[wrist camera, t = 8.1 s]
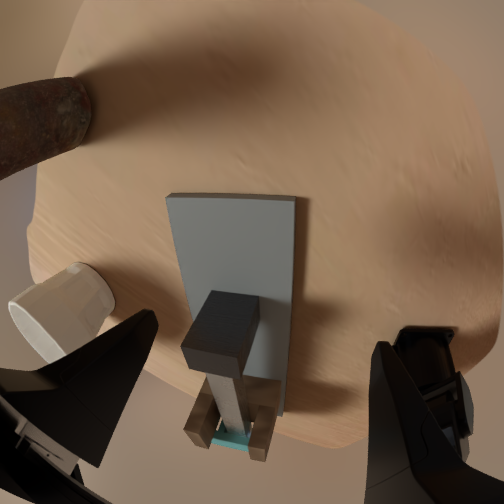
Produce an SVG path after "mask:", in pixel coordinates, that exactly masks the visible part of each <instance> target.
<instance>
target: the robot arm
mask: <svg viewBox="0 0 504 504" xmlns="http://www.w3.org/2000/svg"><path fill="white" fill-rule="evenodd" d="M158 327H159V325H158V321H157V318H156V316H155V313H154V311H153V310H149V309H143V310H141V311H139V312H138V313H136V314H134V315H133V316H131V317H129V318H128V319H126V320H124V321H123V322H121V323H119V324H118V325H116V326H114V327H113V328H111V329H109V330H108V331H106V332H105V333H103V334H101V335H100V336H98V337H96V338H95V339H93V340H91V341H90V342H88V343H86V344H85V345H83V346H82V347H80V348H78V349H76V350H75V351H73V352H71V353H69V354H68V355H66V356H64V357H62V358H60V359H58V360H56V361H54V362H52V363H50V364H48V365H46V366H44V367H42V368H40V369H38V370H34V371H22V370H13V369H4V368H0V488H1V489H3V490H5V491H7V492H9V493H12V494H14V495H16V496H18V497H20V498H23V499H25V500H27V501H30V502H32V503H35V504H112V503H111V502H109V501H107V500H105V499H104V498H102V497H100V496H99V495H97V494H96V493H94V492H93V491H91V490H89V489H88V488H87V487H85V486H84V483H83V479H82V476H81V472H80V469H79V465H78V464H77V462H78V460H79V458H81V459H83V460H84V461H86V462H88V463H89V464H91V465H93V466H95V467H96V468H99V466H100V463H101V461H102V459H103V456H104V454H105V451H106V449H107V446H108V444H109V442H110V439H111V437H112V435H113V432H114V430H115V428H116V425H117V423H118V421H119V418H120V416H121V414H122V412H123V410H124V407H125V405H126V403H127V401H128V398H129V396H130V394H131V392H132V389H133V388H134V385H135V383H136V381H137V379H138V377H139V375H140V373H141V371H142V368H143V366H144V364H145V362H146V360H147V358H148V355H149V353H150V350H151V347H152V344H153V342H154V339H155V336H156V333H157V331H158ZM404 333H405V334H404ZM453 337H454V331H453V330H440V329H402V330H400V331H399V333H398V336H397V338H396V340H395V342H394V344H393V345H392V346H391V345H390V343H389V342H387V341H378V342H377V344H376V346H375V349H374V351H373V354H372V357H371V370H370V384H369V443H368V465H367V480H366V491H365V499H364V504H504V481H501V480H498V479H496V478H494V477H492V476H489V475H487V474H485V473H483V472H480V471H478V470H476V469H474V468H472V467H470V466H469V465H467V464H466V463H465V462H466V460H467V457H468V455H469V442H468V436H470V435H472V434H473V417H474V414H473V413H474V410H473V409H474V407H473V402H472V398H471V394H470V390H469V387H468V385H467V383H466V381H465V379H464V378H463V376H462V374H461V372H460V371H458V372H457V373H456V372H455V368H454V364H453V360H452V356H451V352H450V348H449V343H450V342H451V340H452V338H453Z"/></svg>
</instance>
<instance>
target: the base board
mask: <svg viewBox="0 0 504 504" xmlns="http://www.w3.org/2000/svg"><path fill="white" fill-rule="evenodd" d="M165 199H166V204H167V210H168V215H169V220H170V225H171V230H172V235H173V240H174V245H175V249H176V254H177V258H178V263H179V267H180V272H181V276H182V280H183V284H184V288H185V292H186V296H187V300H188V304H189V308H190V312H191V315H192V319H193V322H194V320H195V319H196V317H197V315H198V313H199V311H200V310H201V308H202V306H203V304H204V302H205V301H206V299H207V297H208V295H209V293H210V292H211V290H215V291H223V292H231V293H239V294H248V295H256V296H259V304H260V323H259V326H258V329H257V332H256V335H255V339H254V342H253V345H252V348H251V351H250V354H249V357H248V360H247V363H246V366H245V369H244V372H243V375H249V376H254V377H260V378H267V379H273V380H280V381H281V396H280V405H279V409H278V413H277V416H281V417H282V416H283V411H284V402H285V392H286V381H287V370H288V357H289V344H290V330H291V315H292V297H293V277H294V252H295V217H296V196H279V195H257V194H223V193H171V194H169V195H168V196H167V197H165Z"/></svg>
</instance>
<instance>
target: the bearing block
mask: <svg viewBox="0 0 504 504" xmlns="http://www.w3.org/2000/svg"><path fill="white" fill-rule="evenodd" d="M243 378H244V384H245V390H246V396H247V402H248V408H249V414H250V419H251V422H254V426H253V429H252V433H251V436H250V439H249V443H248V446H247V447H248V451H249V455H250V459H252V460H257V461H262V462H265V461H266V457H267V453H268V450H269V446H270V442H271V438H272V434H273V430H274V426H275V422H276V418H277V413H278V409H279V405H280V396H281V381H280V380H273V379H267V378H260V377H254V376H249V375H243ZM220 417H221V414H220V412H219V409H218V406H217V404H216V401H215V399H214V396H213V393H212V390H211V388H210V385H209V382H208V379H207V376H206V378H205V381H204V383H203V385H202V388H201V390H200V392H199V395H198V397H197V399H196V402H195V404H194V406H193V408H192V411H191V413H190V415H189V418H188V420H187V422H186V425H185V427H184V429H183V430H184V431H185V432H186V434H187V435H188V436H189V438H190V439H191V440H192V442H193V443H194V444H195V445H196V446H199V447H203V448H206V449H209V447H210V444H211V441H212V439H213V436H214V433H215V431H216V428H217V425H218V422H219V420H220Z"/></svg>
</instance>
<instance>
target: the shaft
mask: <svg viewBox="0 0 504 504" xmlns="http://www.w3.org/2000/svg"><path fill="white" fill-rule="evenodd" d="M259 323H260V304H259V296H256V295H248V294H239V293H231V292H223V291H215V290H211V292H210V293H209V295H208V297H207V299H206V301H205V302H204V304H203V306H202V308H201V310H200V311H199V313H198V315H197V317H196V319H195V320H194V322H193V324H192V326H191V328H190V329H189V331H188V333H187V335H186V337H185V339H184V340H183V342H182V344H181V346H180V347H181V349H182V352H183V354H184V357H185V359H186V362H187V364H188V367H189V369H192V370H197V371H201V372H205V373H206V376H207V379H208V382H209V385H210V388H211V390H212V393H213V396H214V399H215V401H216V404H217V406H218V409H219V412H220V414H221V417H222V419H223V422H224V424H225V427H226V429H227V432H228V433H229V434H233V435H238V436H242V437H247V438H250V435H251V431H252V425H251V419H250V414H249V408H248V402H247V396H246V390H245V384H244V378H243V372H244V369H245V366H246V363H247V360H248V357H249V354H250V351H251V348H252V345H253V342H254V339H255V335H256V332H257V329H258V326H259Z"/></svg>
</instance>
